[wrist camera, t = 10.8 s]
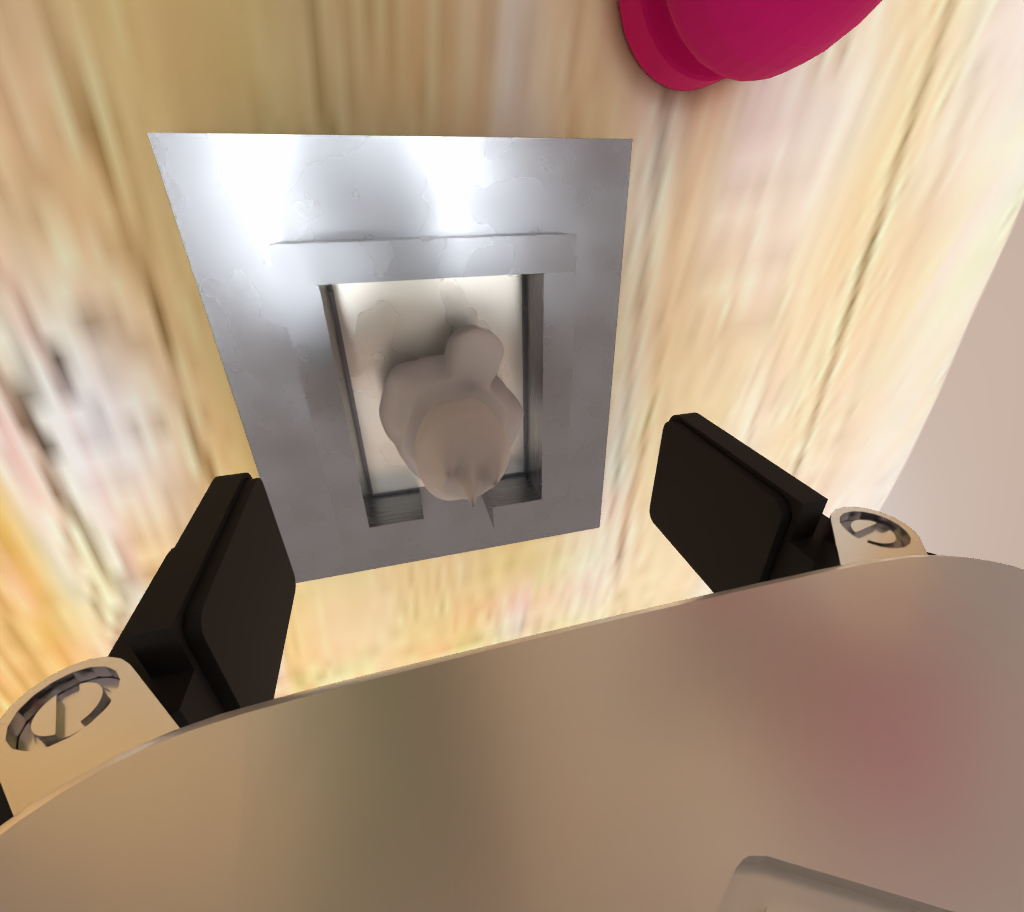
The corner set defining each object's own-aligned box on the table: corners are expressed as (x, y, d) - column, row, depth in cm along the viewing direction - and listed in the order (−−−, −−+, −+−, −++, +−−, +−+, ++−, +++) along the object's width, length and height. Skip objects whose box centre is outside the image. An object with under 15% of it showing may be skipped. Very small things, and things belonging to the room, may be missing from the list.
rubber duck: (365, 442, 20) (357, 562, 13) (403, 289, 17) (418, 336, 10) (481, 466, 22) (529, 581, 15) (530, 332, 19) (613, 394, 12)
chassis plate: (173, 142, 15) (103, 116, 11) (609, 146, 19) (669, 127, 15) (300, 556, 24) (285, 622, 20) (585, 507, 27) (619, 555, 23)
